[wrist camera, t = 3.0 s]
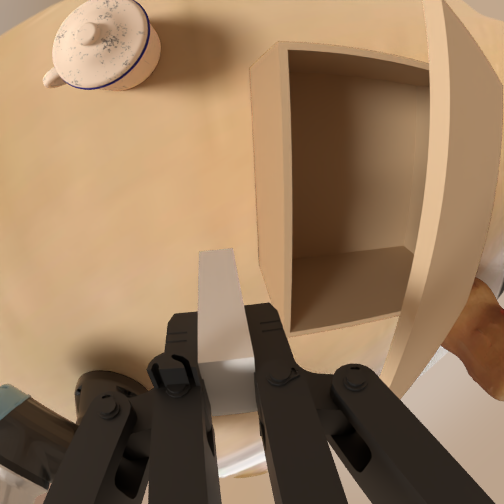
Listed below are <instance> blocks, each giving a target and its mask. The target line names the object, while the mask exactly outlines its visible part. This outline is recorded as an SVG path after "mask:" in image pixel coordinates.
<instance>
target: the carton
mask: <svg viewBox="0 0 504 504" xmlns="http://www.w3.org/2000/svg"><path fill="white" fill-rule="evenodd" d="M249 70H250V89H251V107H252V127H253V146H254V167H255V187H256V208H257V230H258V252H259V266H260V269H261V272H262V275H263V278H264V281H265V284H266V287H267V290H268V293H269V296H270V299H271V302H272V305H273V307H274V308H276V309H277V310H278V313H279V316H280V319H281V322H282V325H283V329H284V331H285V334H286V337H287V338H290V337H296V336H302V335H308V334H314V333H319V332H325V331H330V330H335V329H340V328H345V327H350V326H355V325H360V324H365V323H369V322H374V321H378V320H383V319H387V318H391V317H395V316H400V312H401V309H402V305H403V301H404V298H405V294H406V290H407V286H408V281H409V277H410V273H411V268H412V264H413V259H414V254H415V249H416V244H417V238H418V232H419V227H420V220H421V214H422V207H423V200H424V192H425V183H426V173H427V162H428V149H429V129H430V75H429V63H425V62H422V61H418V60H414V59H410V58H406V57H401V56H397V55H392V54H388V53H382V52H377V51H372V50H366V49H360V48H353V47H346V46H338V45H329V44H319V43H307V42H289V41H278V42H277V43H275V44H274V45H273V46H272V47H271V48H270V49H269V50H268V51H267V52H266V53H265V54H263V55H262V56H261V57H260V58H259V59H258V60H257V61H256V62H255V63H254V64H253V65H252V66H251V67H250V68H249Z"/></svg>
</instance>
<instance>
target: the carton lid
mask: <svg viewBox="0 0 504 504" xmlns="http://www.w3.org/2000/svg"><path fill="white" fill-rule="evenodd" d="M422 3H423V9H424V17H425V24H426V33H427V43H428V56H429V75H430V129H429V149H428V162H427V173H426V183H425V192H424V200H423V207H422V214H421V220H420V227H419V232H418V238H417V244H416V249H415V254H414V259H413V264H412V268H411V273H410V277H409V281H408V286H407V290H406V294H405V298H404V301H403V305H402V309H401V312H400V316H399V320H398V323H397V326H396V330H395V333H394V336H393V340H392V343H391V346H390V349H389V352H388V355H387V358H386V361H385V364H384V366H383V369H382V372H381V375H380V377H379V378H380V379H381V380H382V381H383V382H384V383H385V384H386V385H387V386H388V387H389V389H390V390H391V391H392V392H393V393H394V394H395V395H396V396H397V397H398V398H399V399H401V398H402V397H403V395H404V394H405V393H406V392H407V390H408V389H409V388H410V387H411V385H412V384H413V383H414V382H415V380H416V379H417V378H418V376H419V375H420V374H421V372H422V371H423V370H424V368H425V367H426V365H427V364H428V363H429V361H430V360H431V358H432V357H433V356H434V354H435V353H436V351H437V350H438V348H439V347H440V345H441V344H442V342H443V341H444V339H445V338H446V336H447V335H448V333H449V331H450V330H451V328H452V327H453V325H454V323H455V322H456V320H457V318H458V317H459V315H460V313H461V312H462V310H463V308H464V306H465V305H466V303H467V300H468V297H469V294H470V291H471V288H472V285H473V282H474V279H475V276H476V273H477V270H478V266H479V263H480V259H481V256H482V252H483V248H484V245H485V241H486V237H487V232H488V228H489V224H490V219H491V214H492V209H493V204H494V198H495V192H496V186H497V179H498V172H499V164H500V154H501V142H502V125H503V85H502V83H501V82H500V80H499V78H498V76H497V74H496V73H495V71H494V69H493V68H492V66H491V64H490V63H489V61H488V59H487V58H486V56H485V55H484V53H483V52H482V50H481V49H480V47H479V46H478V44H477V43H476V41H475V40H474V38H473V37H472V35H471V34H470V33H469V31H468V30H467V28H466V27H465V26H464V24H463V23H462V22H461V20H460V19H459V18H458V17H457V15H456V14H455V13H454V12H453V10H452V9H451V8H450V7H449V5H448V4H447V3H446V2H445V1H444V0H422Z"/></svg>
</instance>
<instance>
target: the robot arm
mask: <svg viewBox="0 0 504 504" xmlns="http://www.w3.org/2000/svg"><path fill="white" fill-rule="evenodd" d="M147 372H148V374H149V377H150V379H151V381H152V384H153V386H154V388H153V389H151V390H150V391H147V390H146V389H145V388H144V387H143V386H142V385H141V384H139V383H138V382H136V381H134V380H132V379H130V378H128V377H126V376H123V375H120V374H117V373H113V372H107V371H92V372H88V373H85V374H83V375H82V376H81V377H80V378H79V380H78V382H77V385H76V388H75V404H76V414H77V421H76V424H75V423H73V422H71V421H70V420H68V419H66V418H64V417H62V416H61V415H59V414H57V413H55V412H54V411H52V410H50V409H49V408H47V407H45V406H44V405H42V404H41V403H39V402H38V401H36V400H34V399H33V398H31V396H30V395H29V394H28V395H27V394H25V393H24V392H22V391H20V390H19V389H17V388H16V387H14V386H12V385H10V384H4V385H1V386H0V504H34V503H35V499H36V497H37V496H39V495H41V494H45V493H47V492H48V493H47V496H46V498H45V500H44V503H43V504H141V503H142V500H143V497H144V494H145V490H146V487H147V484H148V481H149V496H148V497H149V498H148V500H149V501H148V502H149V503H148V504H222V502H221V494H220V485H219V476H218V466H217V456H216V445H215V433H214V428H213V425H212V417H211V413H212V416H221V415H231V414H240V413H248V412H255V411H258V415H259V425H260V436H262V441H263V446H264V451H265V456H266V462H267V467H268V472H269V477H270V481H271V486H272V491H273V496H274V501H275V504H348V502H347V499H346V496H345V493H344V490H343V487H342V484H341V481H340V478H339V475H338V472H337V469H336V466H335V463H334V460H333V457H332V454H331V451H330V448H329V445H328V442H329V444H330V445H331V447H332V448H333V450H334V451H335V452H336V454H337V455H338V457H339V458H340V460H341V461H342V462H343V464H344V465H345V467H346V468H347V470H348V471H349V472H350V474H351V475H352V476H353V478H354V479H355V481H356V482H357V483H358V485H359V486H360V488H361V489H362V490H363V492H364V493H365V494H366V496H367V497H368V499H369V500H370V501H371V503H372V504H495V503H494V502H493V500H492V499H491V498H490V497H489V496H488V495H487V494H486V493H485V492H484V491H483V489H482V488H481V487H480V486H479V485H478V484H477V483H476V482H475V481H474V480H473V478H472V477H471V476H470V475H469V474H468V473H467V472H466V471H465V470H464V469H463V468H462V466H461V465H460V464H459V463H458V462H457V461H456V460H455V459H454V458H453V457H452V456H451V454H450V453H448V451H447V450H446V449H445V448H444V447H443V446H442V445H441V444H440V442H439V441H438V440H437V439H436V438H435V437H434V436H433V435H432V434H431V433H430V432H429V431H428V429H427V428H426V427H425V426H424V425H423V424H422V423H421V422H420V421H419V420H418V419H417V418H416V417H415V415H414V414H413V413H412V412H411V411H410V410H409V409H408V408H407V407H406V406H405V405H404V404H403V402H402V401H401V400H400V399H399V398H398V397H397V396H396V395H395V394H394V393H393V392H392V391H391V390H390V389H389V387H388V386H387V385H386V384H385V383H384V382H383V381H382V380H381V379H380V378H379V377H378V376H377V375H376V374H375V372H374V371H372V370H371V369H370V368H368V367H367V366H364V365H361V364H347V365H344V366H342V367H340V368H339V369H337V370H336V371H335V373H334V375H332V374H317V373H311V372H309V371H306V370H304V369H303V368H301V367H300V366H299V365H298V364H297V363H296V362H295V360H294V358H293V355H292V352H291V349H290V346H289V343H288V340H287V337H286V334H285V331H284V329H283V325H282V322H281V319H280V316H279V313H278V310H277V309H276V308H274V307H273V306H272V305H271V304H270V303H261V304H253V305H245V306H244V303H243V298H242V293H241V288H240V283H239V278H238V272H237V267H236V262H235V256H234V251H233V248H229V249H220V250H210V251H201V252H199V276H198V312H188V313H177V314H174V315H173V317H172V318H171V319H170V321H169V322H168V326H167V335H166V344H165V352H164V353H162V354H160V355H158V356H156V357H155V358H154V359H153V360H152V361H151V362H150V363H149V365H148V368H147ZM327 441H328V442H327ZM50 483H52V484H51V486H50V489H49V491H48V488H49V484H50Z"/></svg>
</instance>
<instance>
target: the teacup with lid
mask: <svg viewBox="0 0 504 504" xmlns="http://www.w3.org/2000/svg"><path fill="white" fill-rule="evenodd" d="M160 53H161V43H160V39H159V36H158V34H157V33H156V31H155V30H154V28H153V27H152V25H151V24H150V22H149V18H148V16H147V13H146V12H145V10H144V9H143V7H142V6H141V5H140V4H139V3H137V2H136V1H134V0H89V1H87V2H85V3H84V4H82V5H80V6H79V7H78V8H76V9H75V10H74V11H73V12H72V13H71V14H70V15H69V16H68V17H67V18H66V19H65V20H64V22H63V23H62V25H61V26H60V28H59V30H58V32H57V34H56V37H55V40H54V44H53V52H52V55H53V63H54V66H55V67H53V68H52V69H51V70H49V71H48V72H47V73H46V74H45V76H44V78H43V83H44V86H45V87H47V88H55V87H59V86H62V85H65V84H69V85H71V86H73V87H75V88H79V89H85V90H92V89H105V90H111V91H122V90H127V89H130V88H132V87H135V86H137V85H138V84H140V83H142V82H143V81H144V80H145V79H147V78H148V77H149V76H150V74H151V73H152V72H153V71H154V69H155V67H156V66H157V63H158V61H159V58H160Z"/></svg>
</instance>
